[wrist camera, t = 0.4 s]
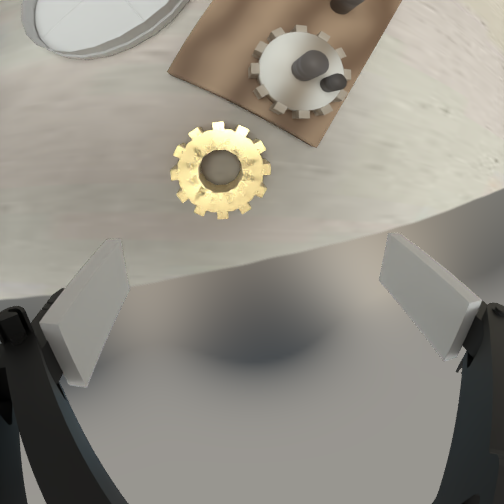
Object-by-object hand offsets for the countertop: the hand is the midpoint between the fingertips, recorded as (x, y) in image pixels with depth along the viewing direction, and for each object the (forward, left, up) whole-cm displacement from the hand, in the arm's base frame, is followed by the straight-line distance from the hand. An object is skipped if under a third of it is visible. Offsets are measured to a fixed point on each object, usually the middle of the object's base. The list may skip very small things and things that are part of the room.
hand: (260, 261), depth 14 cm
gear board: (-3, +20, -21) cm, 30 cm away
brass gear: (-2, 0, -21) cm, 21 cm away
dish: (-26, +16, -22) cm, 38 cm away
